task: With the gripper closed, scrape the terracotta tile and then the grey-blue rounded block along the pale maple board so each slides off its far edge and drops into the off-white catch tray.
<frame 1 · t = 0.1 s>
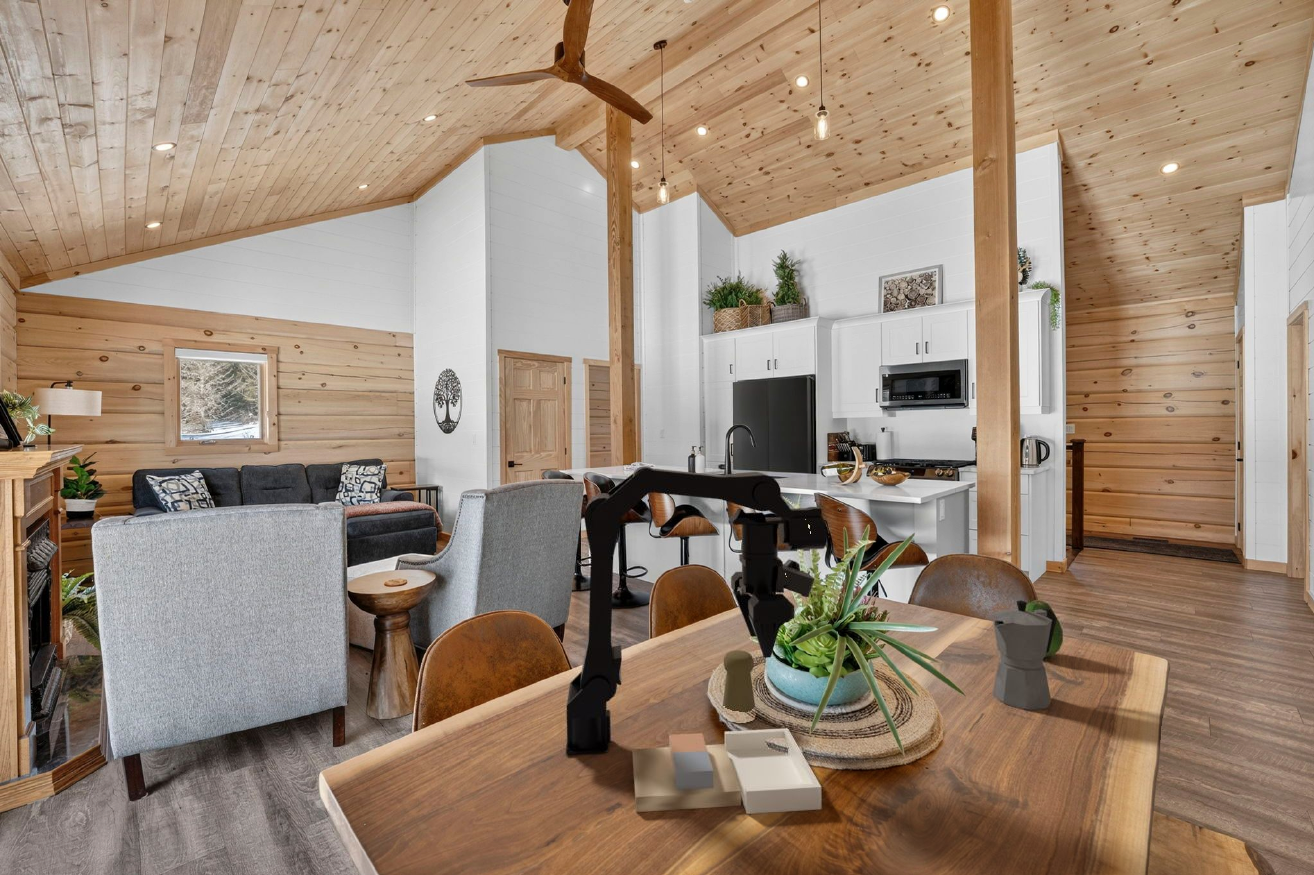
hand: (760, 646, 101), 15 cm above the table, fingers open, 9 cm apart
cork: (739, 716, 109), on the table
tray: (766, 777, 90), on the table
grey-blue rounded block: (692, 778, 86), point 2 cm above the table, touching board, tile terracotta
coffeepot: (1025, 699, 114), on the table
tile terracotta: (688, 758, 91), point 2 cm above the table, touching board, grey-blue rounded block
board: (683, 782, 89), on the table
avocado: (1041, 657, 133), on the table
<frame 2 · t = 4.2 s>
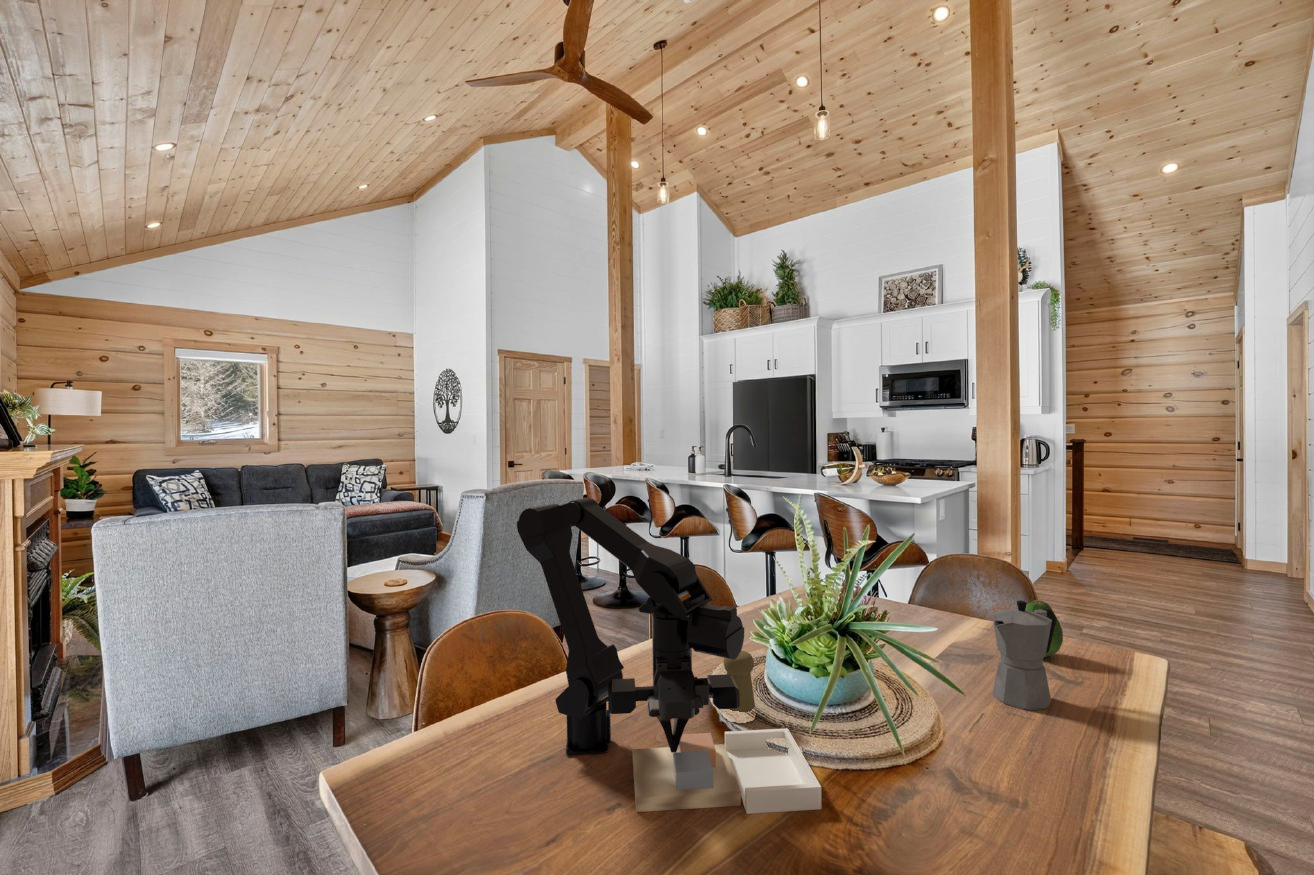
hand: (673, 751, 91), 3 cm above the table, fingers closed
grey-blue rounded block: (692, 778, 86), point 2 cm above the table, touching board
tile terracotta: (696, 758, 92), point 2 cm above the table, touching board, gripper
everything else where it was.
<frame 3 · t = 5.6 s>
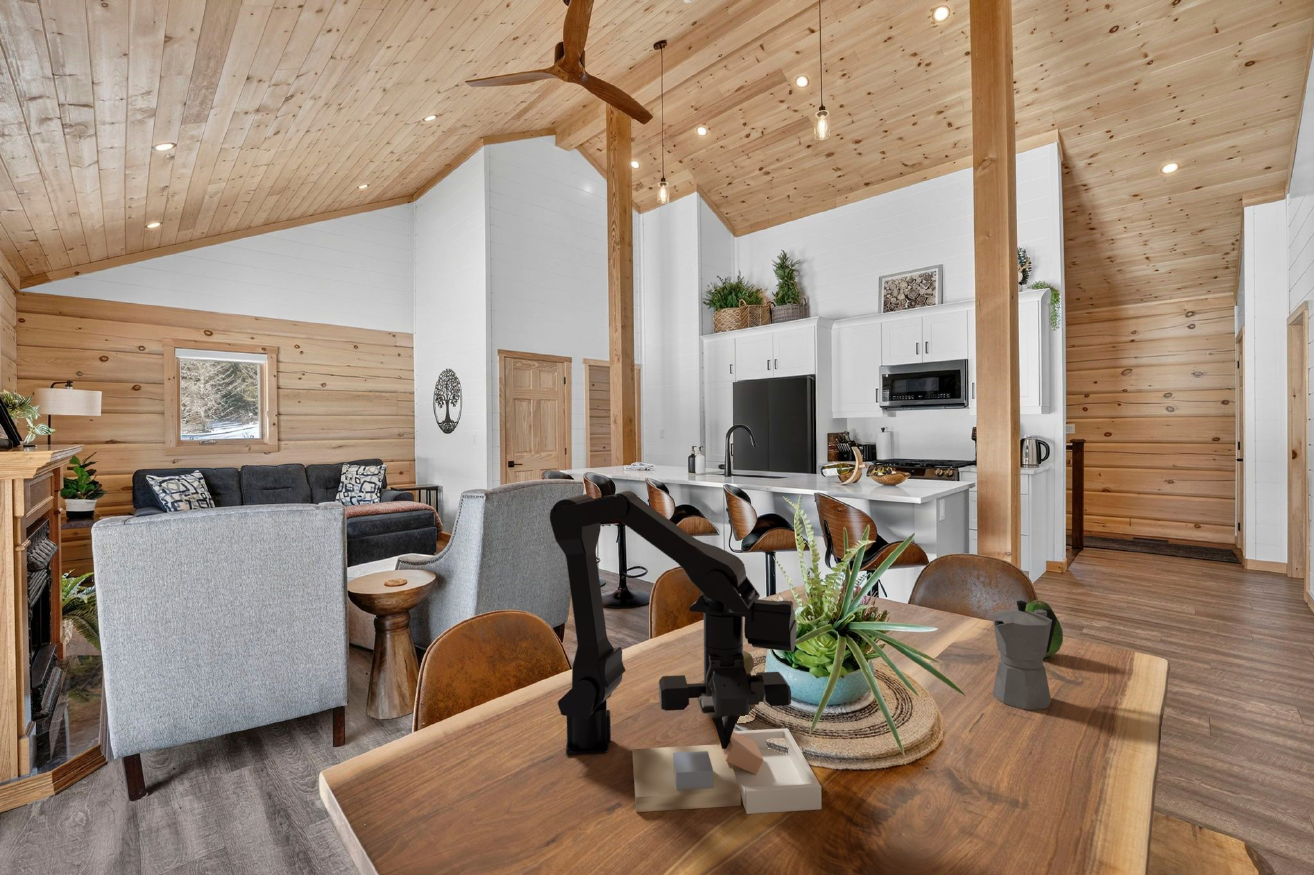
hand: (723, 747, 92), 3 cm above the table, fingers closed
tile terracotta: (737, 758, 92), point 2 cm above the table, tilted 27°, touching gripper, tray
everything else where it was.
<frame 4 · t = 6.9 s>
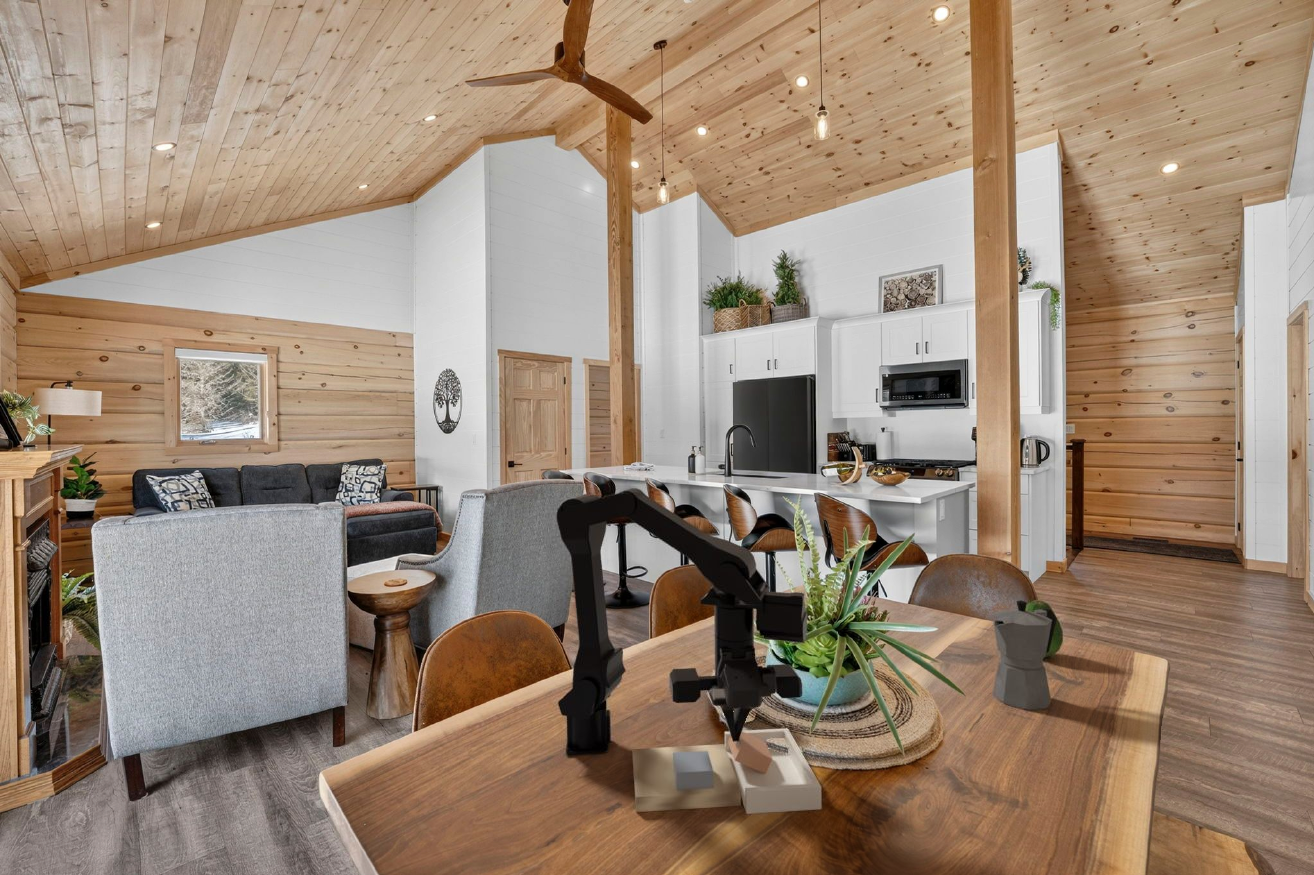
hand: (734, 740, 92), 4 cm above the table, fingers closed
tile terracotta: (746, 757, 92), point 2 cm above the table, tilted 27°, touching tray
everything else where it was.
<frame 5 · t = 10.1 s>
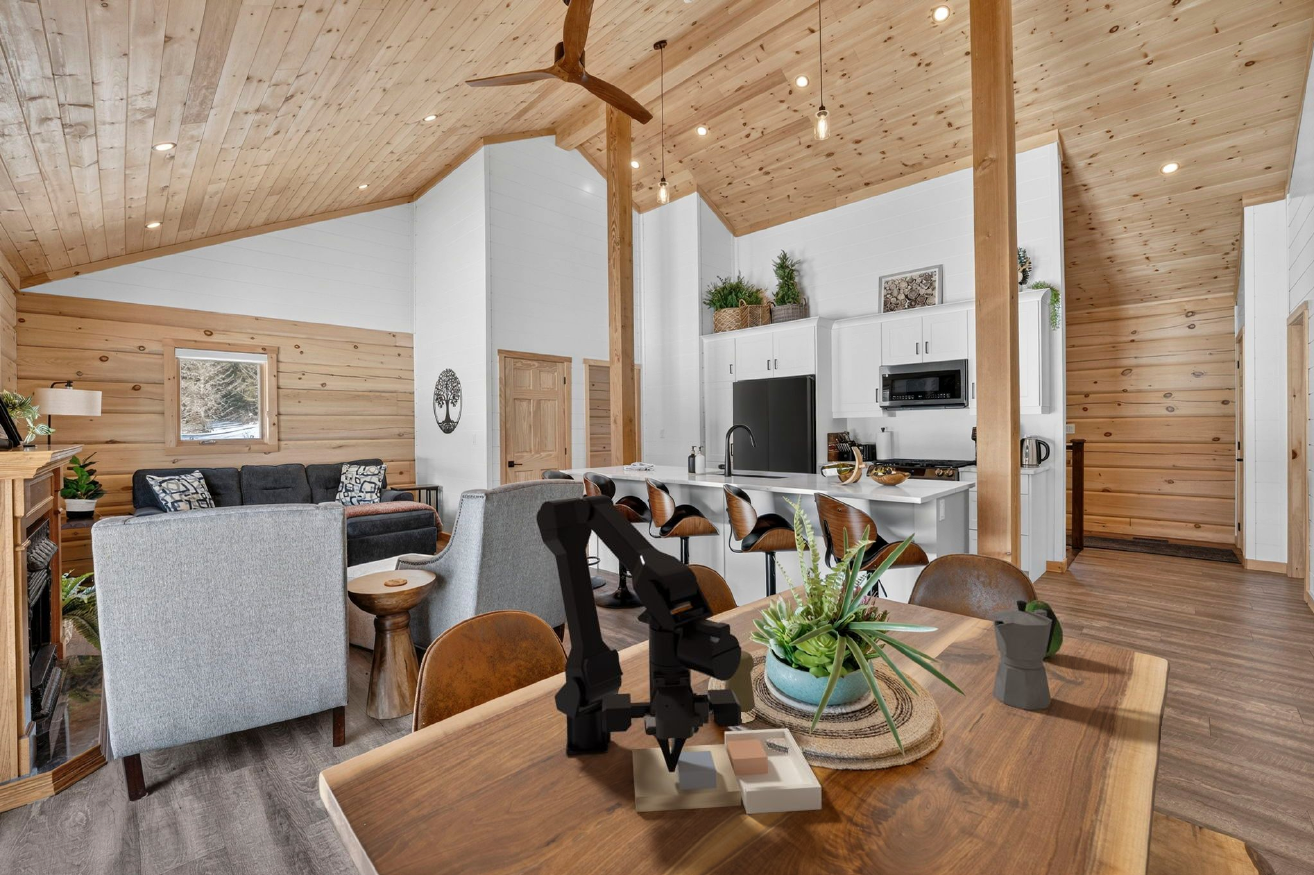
hand: (671, 770, 86), 3 cm above the table, fingers closed
grey-blue rounded block: (695, 778, 86), point 2 cm above the table, touching board, gripper
tile terracotta: (746, 764, 92), resting on tray
everything else where it was.
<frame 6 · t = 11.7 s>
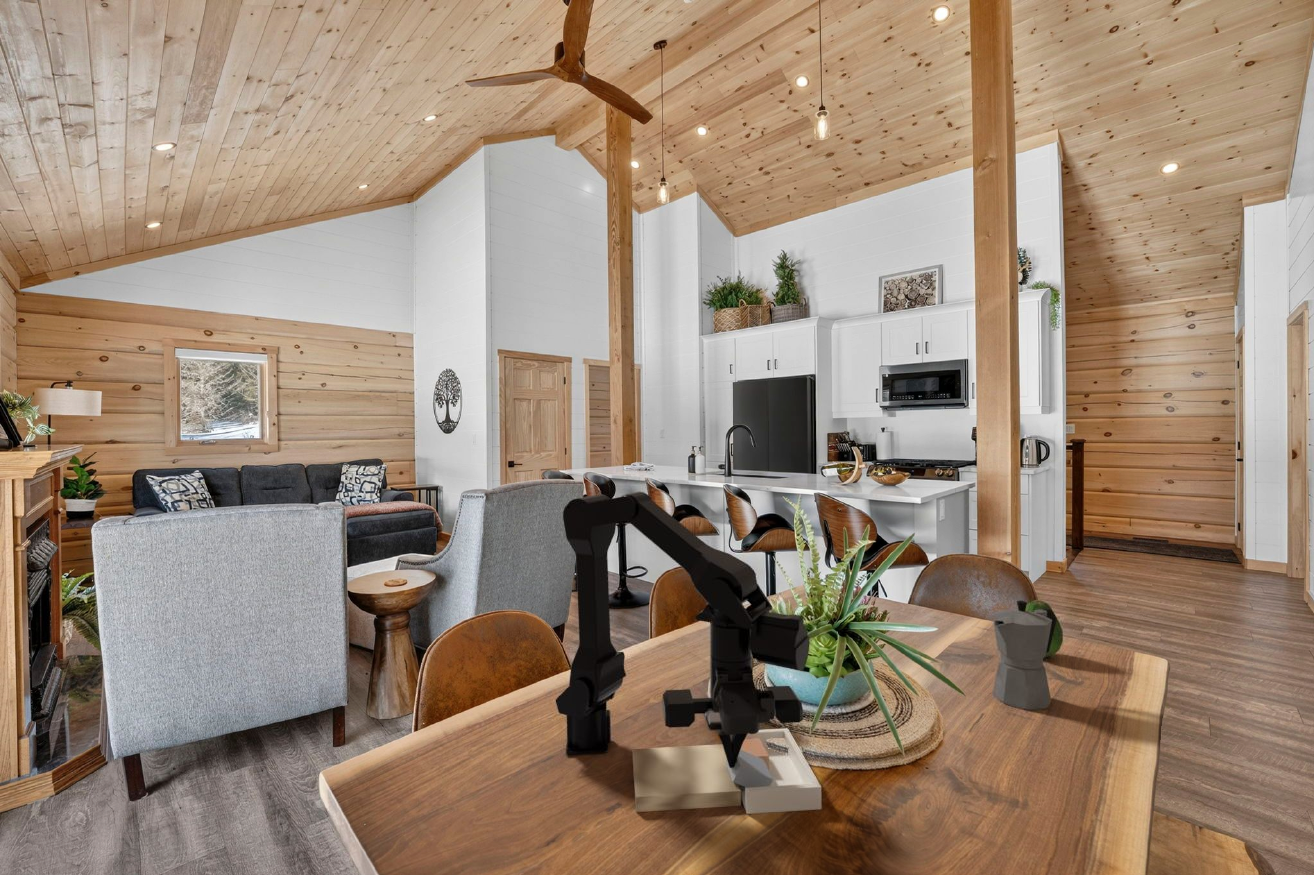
hand: (731, 766, 87), 3 cm above the table, fingers closed, pressing on grey-blue rounded block
grey-blue rounded block: (745, 778, 87), point 1 cm above the table, tilted 26°, touching gripper, tray
everything else where it was.
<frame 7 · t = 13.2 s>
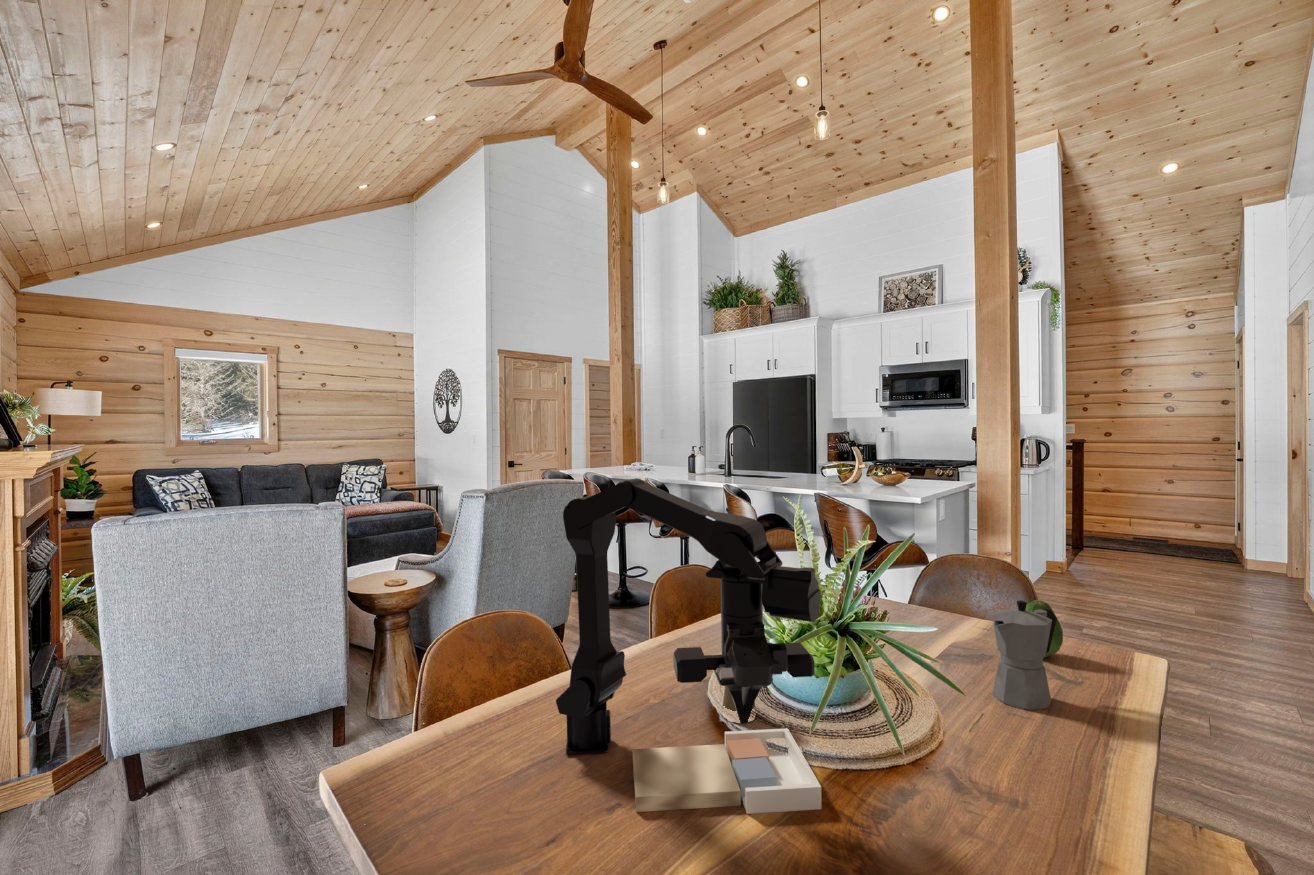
hand: (743, 722, 87), 10 cm above the table, fingers closed
grey-blue rounded block: (753, 784, 87), resting on tray
everything else where it was.
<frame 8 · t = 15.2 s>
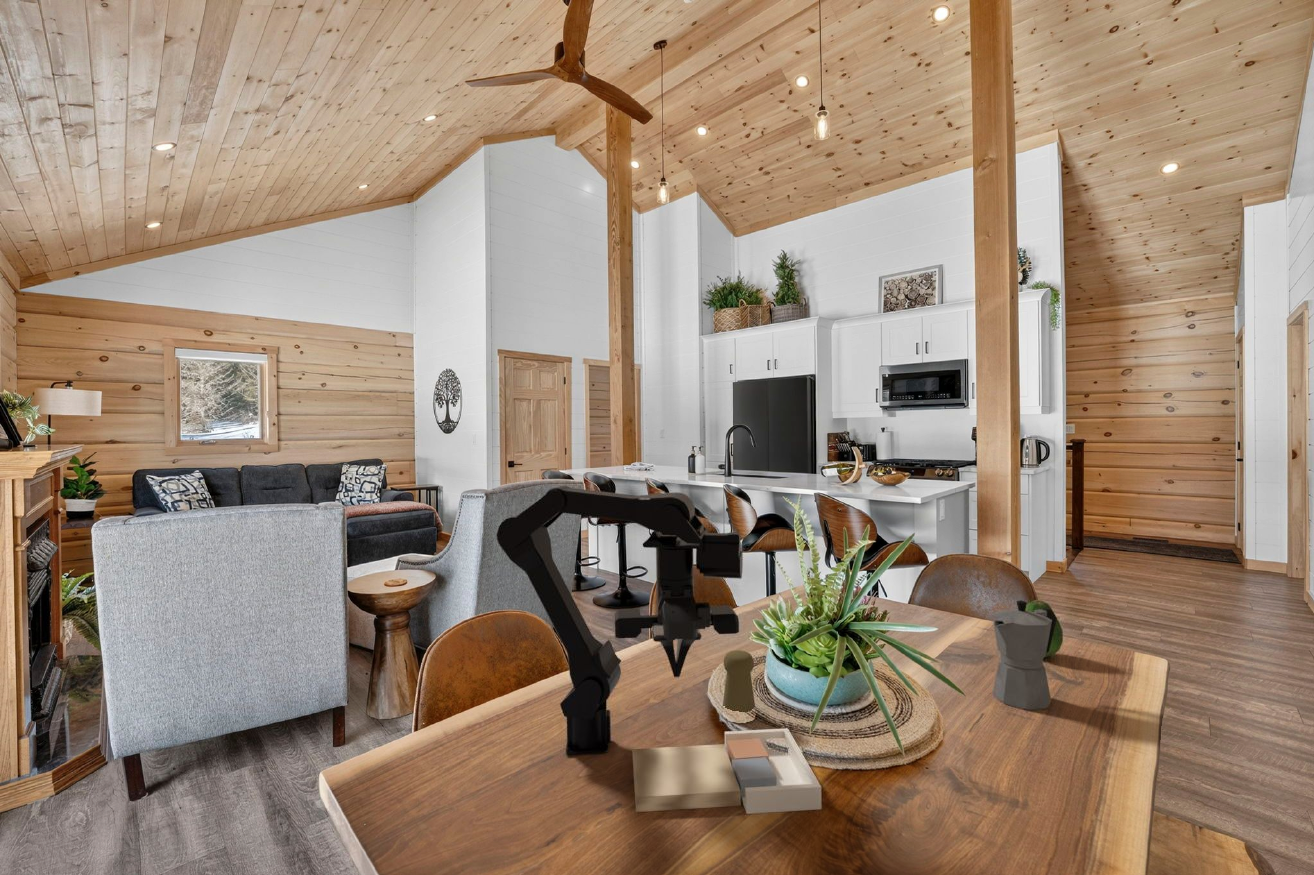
hand: (676, 676, 96), 12 cm above the table, fingers closed
nothing on the table moved.
at the end: tile terracotta inside the target area on the tray (3.8 cm from its centre), point 0.4 cm above the tray's base; grey-blue rounded block inside the target area on the tray (3.3 cm from its centre), point 0.4 cm above the tray's base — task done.
